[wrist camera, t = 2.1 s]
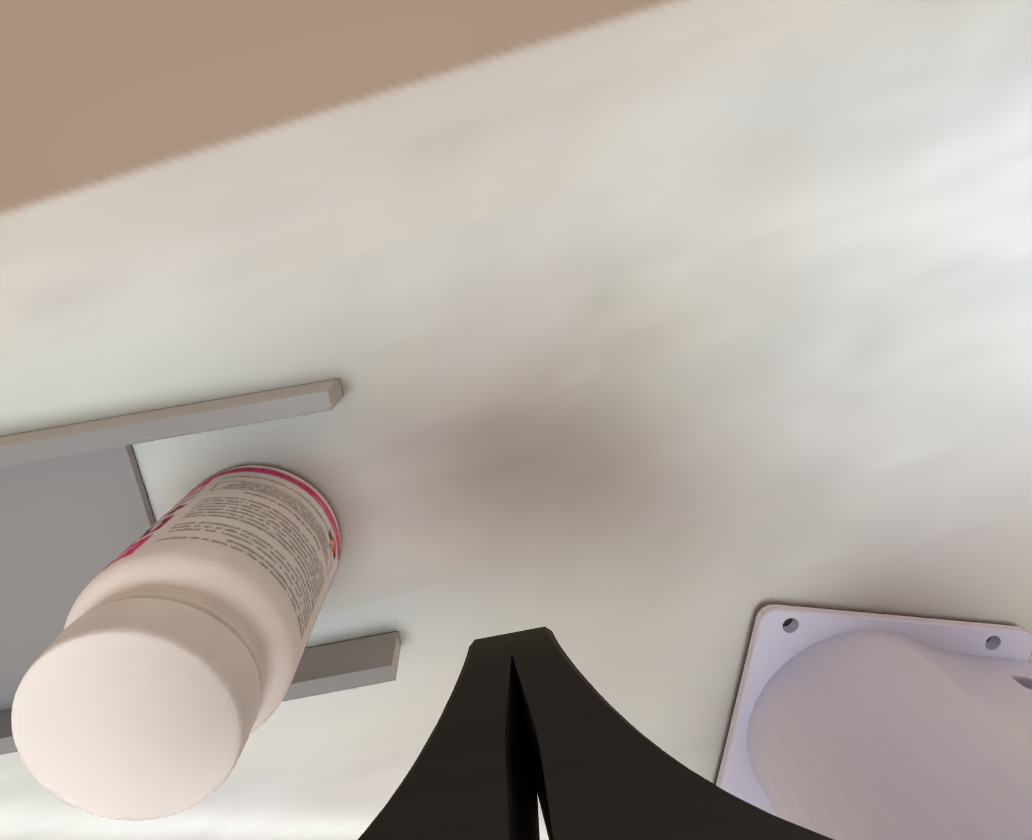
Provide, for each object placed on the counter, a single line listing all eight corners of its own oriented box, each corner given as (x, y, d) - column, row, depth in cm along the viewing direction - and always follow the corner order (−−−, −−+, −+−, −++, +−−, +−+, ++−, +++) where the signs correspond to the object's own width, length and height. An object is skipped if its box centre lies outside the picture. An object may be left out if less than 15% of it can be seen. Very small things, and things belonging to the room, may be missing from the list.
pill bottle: (191, 444, 20) (-2, 582, 11) (358, 481, 20) (288, 638, 12) (165, 593, 21) (-28, 819, 12) (325, 625, 21) (241, 858, 13)
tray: (339, 378, 19) (327, 391, 18) (400, 645, 22) (395, 680, 20) (-209, 472, 19) (-277, 495, 17) (-91, 736, 21) (-140, 781, 19)
